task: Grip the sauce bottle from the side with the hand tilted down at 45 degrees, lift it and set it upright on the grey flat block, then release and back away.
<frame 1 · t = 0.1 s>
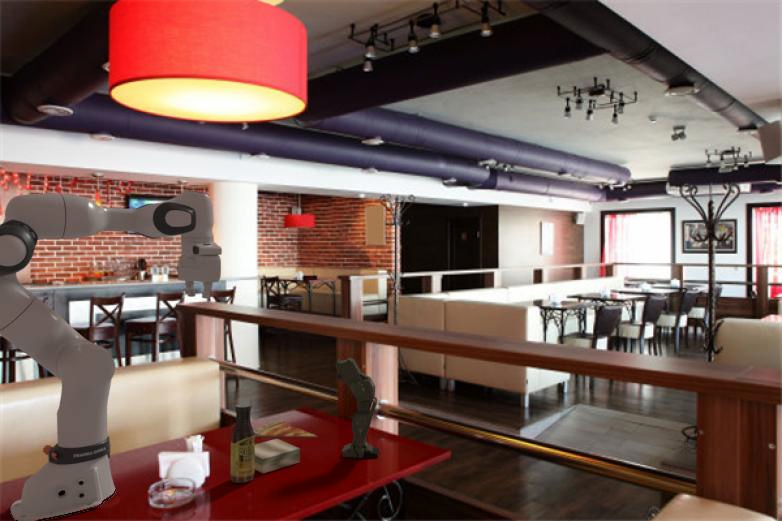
hand: (198, 297, 165), 48 cm above the table, tool pointing down, fingers open, 8 cm apart
pizza slice: (278, 436, 192), on the table
sauce bottle: (243, 480, 155), on the table
grey flat block: (270, 462, 167), on the table
mechanical leg: (358, 455, 173), on the table
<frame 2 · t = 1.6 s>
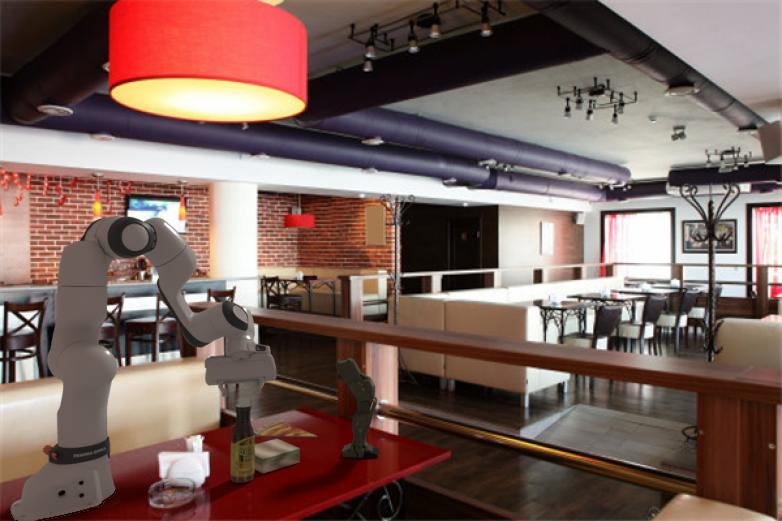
hand: (241, 394, 166), 20 cm above the table, tool tilted 45°, fingers open, 8 cm apart
nothing on the table moved.
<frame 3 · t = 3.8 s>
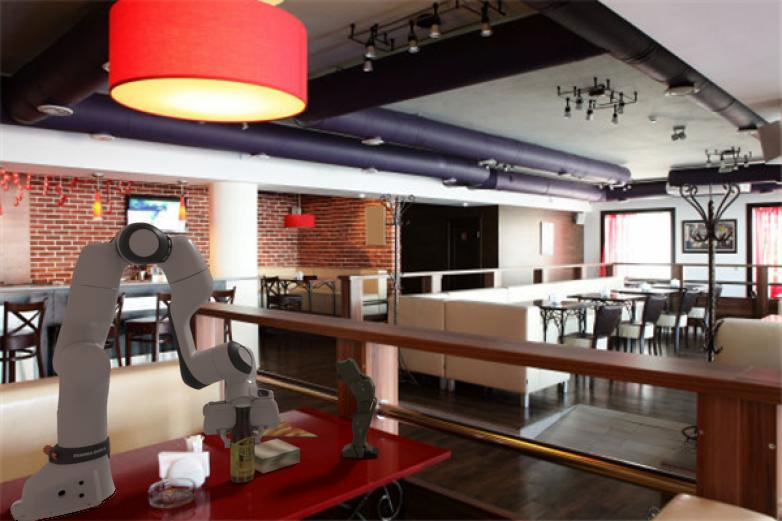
hand: (242, 445, 154), 9 cm above the table, tool tilted 45°, fingers closed on sauce bottle, 6 cm apart
sauce bottle: (243, 480, 155), on the table, touching gripper
everything else where it was.
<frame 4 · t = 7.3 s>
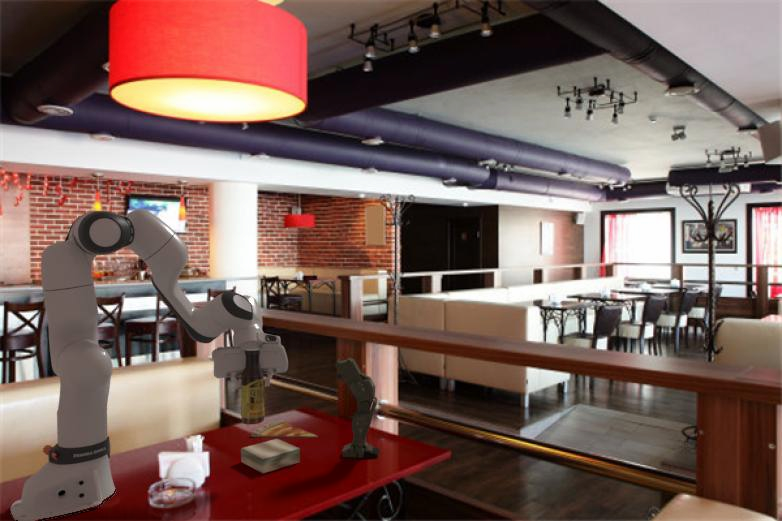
hand: (253, 386, 157), 24 cm above the table, tool tilted 45°, fingers closed on sauce bottle, 6 cm apart
sauce bottle: (253, 422, 158), point 14 cm above the table, touching gripper
everything else where it was.
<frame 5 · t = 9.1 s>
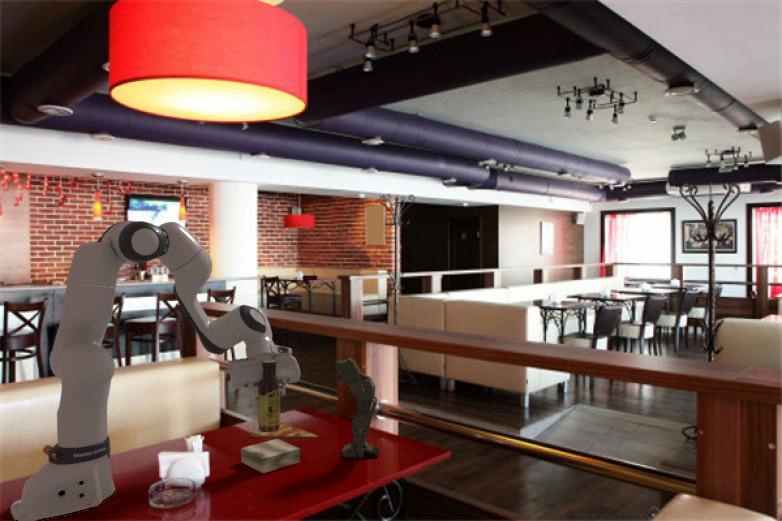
hand: (270, 396, 167), 19 cm above the table, tool tilted 45°, fingers closed on sauce bottle, 6 cm apart
sauce bottle: (269, 430, 167), point 9 cm above the table, touching gripper
everything else where it was.
when the fingers open (14 cm above the table, at t = 10.7 s): sauce bottle stays where it is, resting on grey flat block.
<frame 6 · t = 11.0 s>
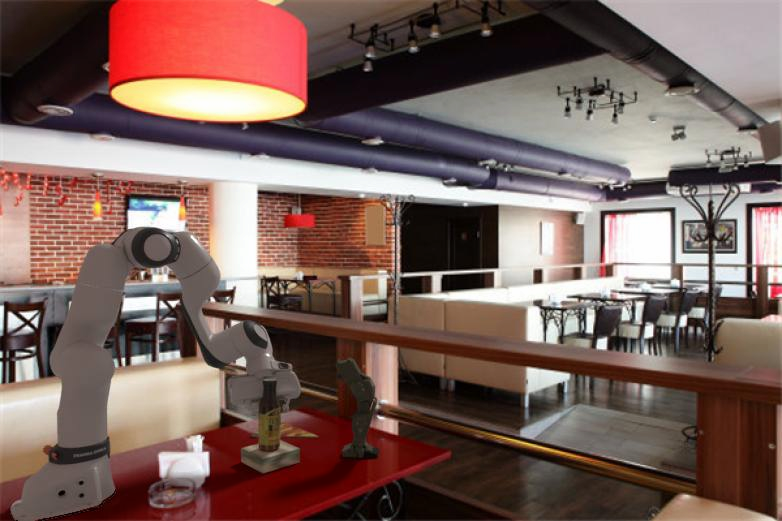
hand: (270, 413, 167), 14 cm above the table, tool tilted 45°, fingers open, 8 cm apart
sauce bottle: (269, 449, 167), point 4 cm above the table, touching grey flat block
everything else where it was.
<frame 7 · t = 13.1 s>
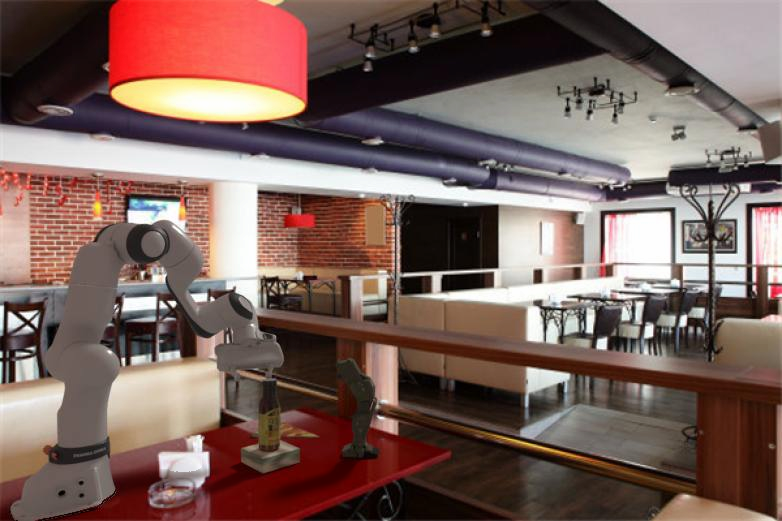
hand: (253, 379, 176), 22 cm above the table, tool tilted 45°, fingers open, 8 cm apart
nothing on the table moved.
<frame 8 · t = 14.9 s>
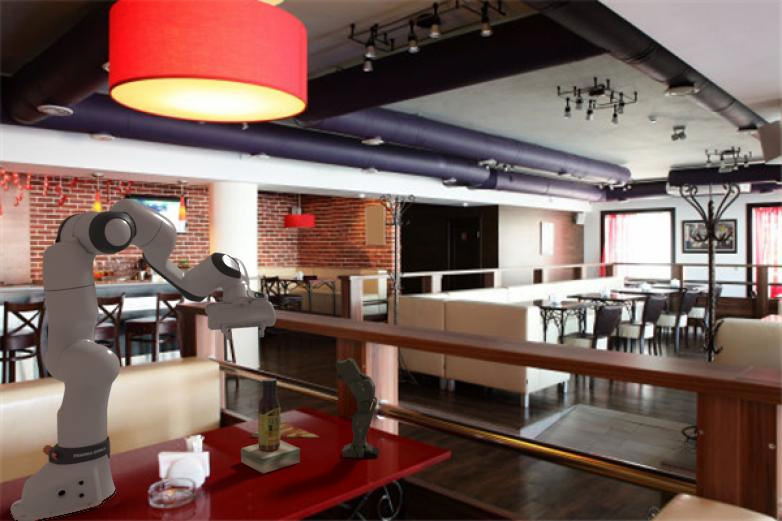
hand: (245, 337, 172), 35 cm above the table, tool tilted 45°, fingers open, 8 cm apart
nothing on the table moved.
at the end: sauce bottle inside the target area on the grey flat block (0.1 cm from its centre), point 3.8 cm above the grey flat block's base; sauce bottle tilted 0°; the gripper is holding nothing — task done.
